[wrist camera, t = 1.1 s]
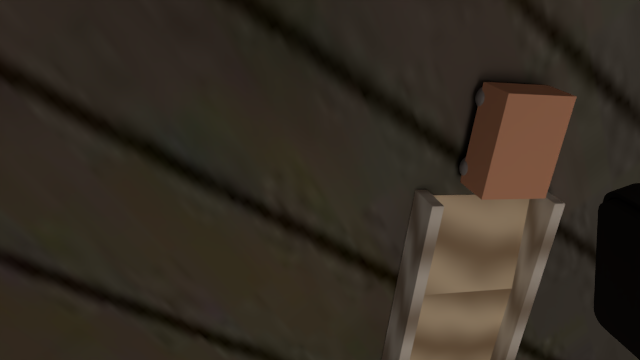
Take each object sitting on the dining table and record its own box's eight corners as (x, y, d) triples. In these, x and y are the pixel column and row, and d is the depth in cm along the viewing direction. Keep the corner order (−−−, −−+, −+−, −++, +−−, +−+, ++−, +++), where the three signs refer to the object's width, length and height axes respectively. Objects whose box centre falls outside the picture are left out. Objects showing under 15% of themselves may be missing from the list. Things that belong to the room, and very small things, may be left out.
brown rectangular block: (474, 78, 40) (506, 93, 36) (541, 82, 42) (579, 96, 38) (451, 176, 43) (479, 199, 39) (515, 176, 45) (547, 198, 41)
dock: (412, 186, 43) (438, 212, 39) (537, 185, 46) (573, 209, 42) (374, 380, 51) (392, 419, 47) (483, 367, 54) (509, 402, 50)
